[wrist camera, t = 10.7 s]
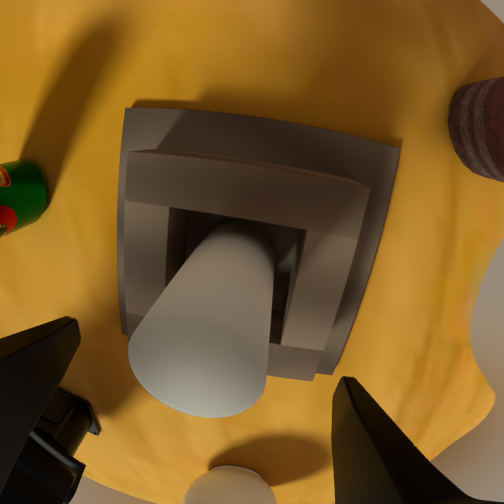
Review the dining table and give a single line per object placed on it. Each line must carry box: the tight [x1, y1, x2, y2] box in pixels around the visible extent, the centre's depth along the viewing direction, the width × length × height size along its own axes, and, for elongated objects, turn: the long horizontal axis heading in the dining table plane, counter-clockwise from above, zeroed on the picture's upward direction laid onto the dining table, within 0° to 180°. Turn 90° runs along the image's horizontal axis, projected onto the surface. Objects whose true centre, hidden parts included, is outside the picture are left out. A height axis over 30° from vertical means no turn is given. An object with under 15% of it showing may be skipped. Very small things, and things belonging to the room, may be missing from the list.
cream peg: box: [128, 220, 275, 418], centre depth 13 cm, size 4×4×10 cm
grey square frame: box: [117, 108, 400, 381], centre depth 17 cm, size 16×16×4 cm
